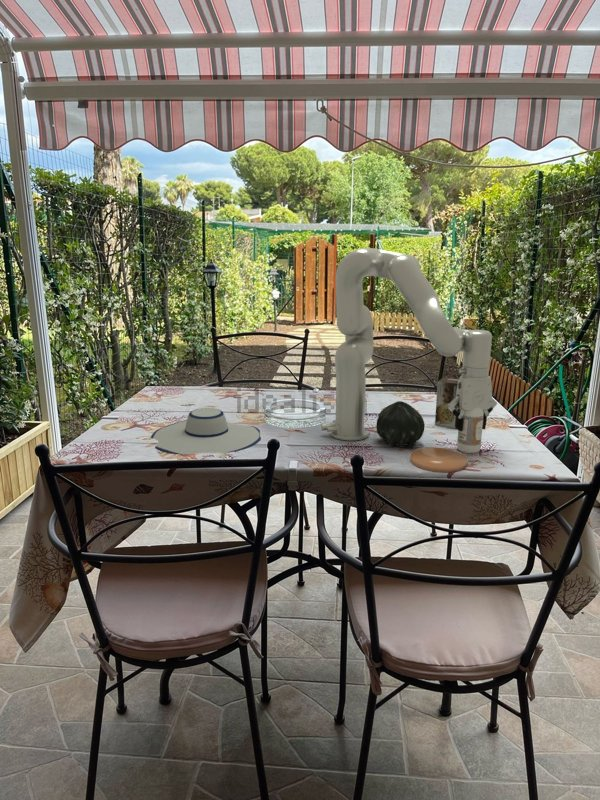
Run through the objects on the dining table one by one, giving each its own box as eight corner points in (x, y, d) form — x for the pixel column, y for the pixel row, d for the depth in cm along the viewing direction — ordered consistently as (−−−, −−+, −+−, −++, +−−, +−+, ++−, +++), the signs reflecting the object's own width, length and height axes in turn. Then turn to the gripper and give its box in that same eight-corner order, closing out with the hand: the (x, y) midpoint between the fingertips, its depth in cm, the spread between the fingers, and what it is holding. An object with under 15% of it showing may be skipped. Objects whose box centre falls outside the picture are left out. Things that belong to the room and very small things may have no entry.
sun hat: (136, 432, 187) (134, 406, 185) (232, 416, 206) (232, 393, 204) (173, 466, 158) (171, 435, 155) (282, 444, 176) (282, 416, 174)
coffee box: (465, 425, 195) (469, 380, 191) (459, 429, 190) (463, 383, 185) (440, 420, 200) (443, 377, 195) (433, 425, 194) (437, 380, 190)
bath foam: (472, 455, 166) (478, 390, 161) (452, 449, 171) (457, 386, 165) (484, 449, 170) (490, 386, 165) (464, 444, 175) (469, 382, 170)
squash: (409, 416, 186) (388, 387, 178) (440, 430, 173) (418, 399, 165) (382, 447, 184) (359, 419, 176) (411, 463, 171) (387, 434, 163)
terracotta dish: (425, 474, 151) (426, 469, 151) (401, 454, 166) (401, 449, 166) (477, 469, 155) (478, 464, 155) (449, 450, 170) (449, 445, 170)
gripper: (455, 376, 158) (450, 435, 163) (508, 373, 163) (502, 430, 167) (442, 370, 165) (438, 427, 170) (493, 368, 170) (488, 423, 174)
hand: (470, 428), depth 169 cm, fingers closed on bath foam, 7 cm apart
